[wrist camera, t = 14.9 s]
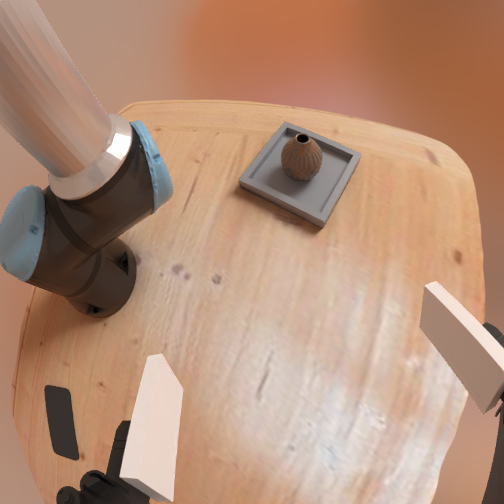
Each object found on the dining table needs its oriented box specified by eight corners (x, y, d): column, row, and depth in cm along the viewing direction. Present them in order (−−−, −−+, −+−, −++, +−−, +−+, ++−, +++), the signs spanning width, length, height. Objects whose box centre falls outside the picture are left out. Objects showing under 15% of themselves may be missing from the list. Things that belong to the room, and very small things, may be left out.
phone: (53, 452, 36) (43, 384, 42) (55, 452, 37) (46, 384, 42) (79, 461, 36) (68, 389, 41) (81, 460, 37) (71, 389, 42)
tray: (240, 187, 51) (238, 179, 49) (284, 129, 55) (284, 121, 52) (322, 228, 47) (324, 221, 44) (359, 161, 50) (361, 153, 48)
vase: (292, 193, 48) (293, 161, 40) (275, 163, 51) (272, 130, 43) (327, 178, 49) (333, 146, 40) (308, 151, 51) (310, 118, 43)
